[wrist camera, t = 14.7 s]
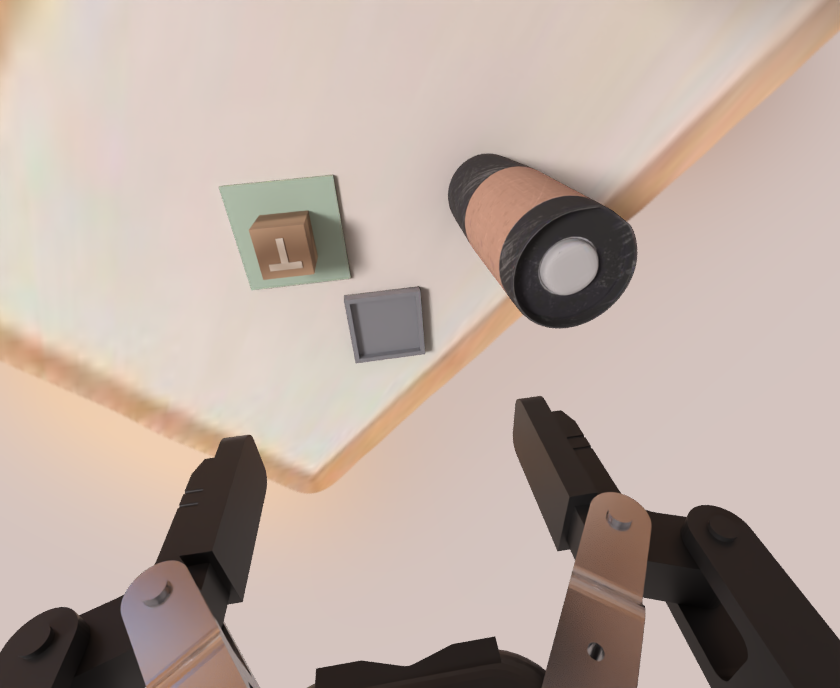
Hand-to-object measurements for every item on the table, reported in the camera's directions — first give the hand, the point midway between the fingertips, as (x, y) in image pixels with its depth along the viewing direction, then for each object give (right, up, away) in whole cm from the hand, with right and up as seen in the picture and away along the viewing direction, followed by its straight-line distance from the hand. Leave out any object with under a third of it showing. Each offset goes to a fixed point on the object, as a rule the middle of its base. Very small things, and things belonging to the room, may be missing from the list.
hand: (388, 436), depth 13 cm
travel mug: (+7, +18, +28) cm, 34 cm away
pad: (-12, +13, +27) cm, 32 cm away
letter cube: (-11, +13, +27) cm, 32 cm away
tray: (-3, +5, +34) cm, 34 cm away
